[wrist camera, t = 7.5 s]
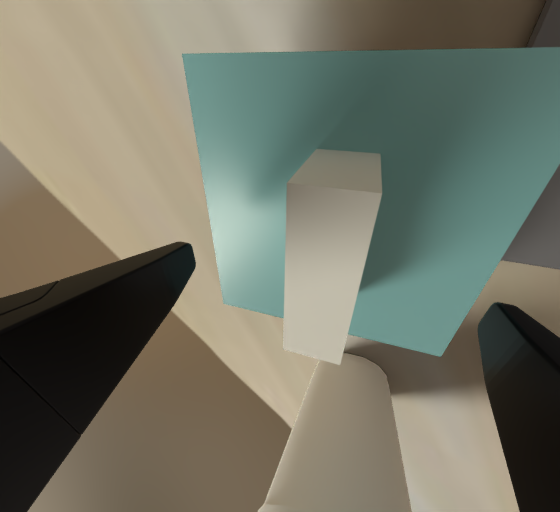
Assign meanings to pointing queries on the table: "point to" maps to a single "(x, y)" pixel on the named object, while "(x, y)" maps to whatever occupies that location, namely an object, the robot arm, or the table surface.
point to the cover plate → (425, 179)
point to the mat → (556, 196)
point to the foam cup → (342, 446)
